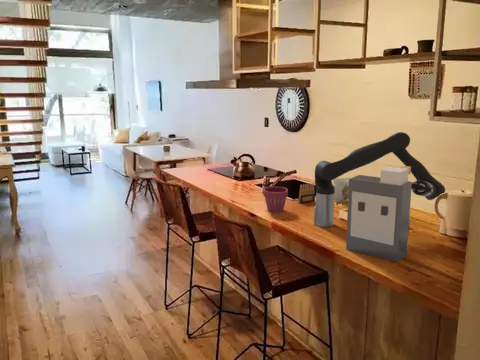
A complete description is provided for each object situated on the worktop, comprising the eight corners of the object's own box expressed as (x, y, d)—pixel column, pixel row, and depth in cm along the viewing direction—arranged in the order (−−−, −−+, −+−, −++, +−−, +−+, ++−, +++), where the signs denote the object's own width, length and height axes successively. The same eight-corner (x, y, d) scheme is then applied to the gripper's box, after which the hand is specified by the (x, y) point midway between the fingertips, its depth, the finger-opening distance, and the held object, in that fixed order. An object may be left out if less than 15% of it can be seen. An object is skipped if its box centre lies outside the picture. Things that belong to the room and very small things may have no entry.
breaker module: (380, 182, 173) (380, 170, 172) (397, 174, 187) (398, 163, 186) (399, 184, 168) (400, 172, 167) (416, 176, 182) (417, 165, 181)
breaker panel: (344, 250, 187) (347, 178, 180) (356, 242, 196) (359, 174, 189) (396, 263, 173) (401, 186, 166) (406, 254, 181) (411, 181, 174)
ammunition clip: (300, 203, 261) (300, 184, 258) (298, 203, 263) (298, 184, 260) (314, 201, 265) (315, 182, 262) (313, 200, 267) (313, 182, 264)
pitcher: (322, 201, 265) (323, 180, 262) (343, 197, 274) (344, 176, 271) (335, 205, 255) (336, 183, 252) (356, 200, 265) (357, 179, 262)
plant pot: (292, 211, 245) (292, 190, 242) (271, 215, 239) (271, 193, 236) (279, 205, 257) (279, 185, 254) (259, 209, 251) (258, 188, 248)
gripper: (410, 177, 213) (397, 174, 201) (439, 184, 204) (427, 180, 192) (406, 192, 214) (393, 189, 202) (435, 199, 204) (423, 196, 192)
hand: (410, 185), depth 197 cm, fingers open, 8 cm apart
